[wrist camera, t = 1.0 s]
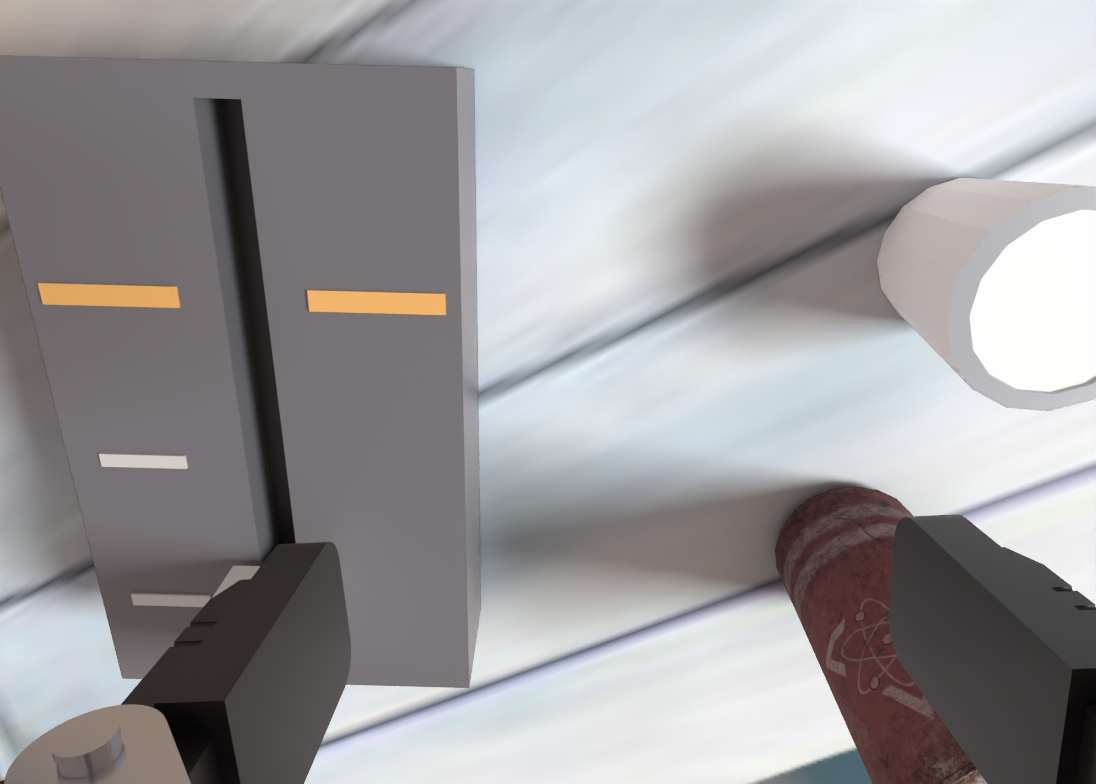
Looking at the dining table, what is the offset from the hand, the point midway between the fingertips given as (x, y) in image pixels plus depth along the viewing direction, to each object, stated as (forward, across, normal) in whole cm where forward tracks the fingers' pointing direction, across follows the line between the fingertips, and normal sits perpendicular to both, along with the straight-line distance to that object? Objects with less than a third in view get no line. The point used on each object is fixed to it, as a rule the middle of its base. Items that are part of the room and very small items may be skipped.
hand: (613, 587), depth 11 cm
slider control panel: (+20, +11, +1) cm, 23 cm away
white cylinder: (+20, -14, -2) cm, 24 cm away
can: (+21, -11, +10) cm, 26 cm away
